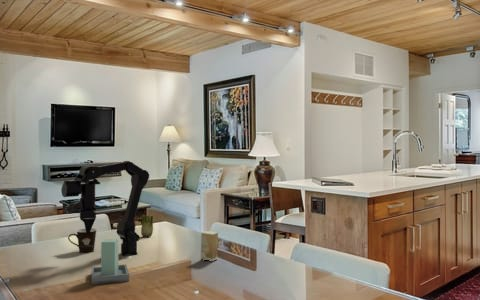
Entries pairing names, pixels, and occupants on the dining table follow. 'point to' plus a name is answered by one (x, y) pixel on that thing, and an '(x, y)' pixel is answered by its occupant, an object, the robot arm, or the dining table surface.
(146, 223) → the fennel bulb
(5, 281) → the dining table surface
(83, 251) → the coffee mug
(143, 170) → the robot arm
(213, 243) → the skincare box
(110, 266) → the teal block
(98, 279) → the box
